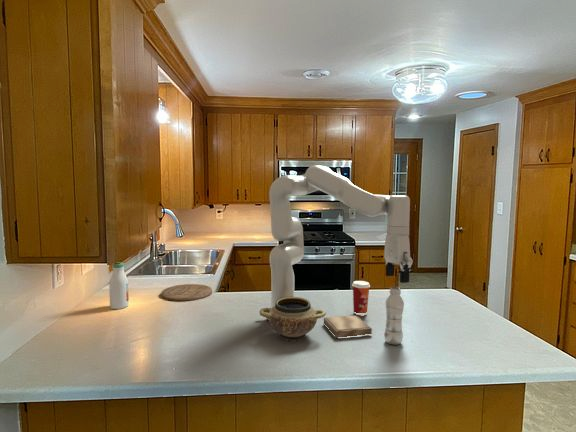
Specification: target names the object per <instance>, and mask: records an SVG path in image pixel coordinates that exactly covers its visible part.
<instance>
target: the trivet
mask: <svg viewBox="0 0 576 432" xmlns="http://www.w3.org/2000/svg"><path fill="white" fill-rule="evenodd" d="M212 294H213V289H212V287H210V286H208V285H206V284H198V283H195V284H194V283H186V284H185V283H183V284H178V285H173V286H169V287H166V288H164V289H162V290H161V293H160V296H161V299H164V300H166V301H171V302H192V301H198V300H202V299H206V298H208V297H210V296H211V295H212Z"/></svg>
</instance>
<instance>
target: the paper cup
mask: <svg viewBox="0 0 576 432" xmlns="http://www.w3.org/2000/svg"><path fill="white" fill-rule="evenodd" d="M351 286H352V302H353V305H352V306H353V313H354V312H356V313H366V312H367V313H368V306H369V305H368V304H369V296H370V295H369V294H370V288H371V285H370V283H369V282H368V281H365V280H355V281H353V283H352V285H351Z"/></svg>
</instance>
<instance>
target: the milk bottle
mask: <svg viewBox="0 0 576 432" xmlns="http://www.w3.org/2000/svg"><path fill="white" fill-rule="evenodd" d="M120 263H121V264H119V265H113V264H112V269H113V271H112V274H111V277H110V278H109V283H108V284H109V287H108V288H109V291H108V292H109V308H110V309H112V310H122V309H125V308H128V306H129V305H130V303H129V302H130V301H129V300H130V299H129V280H128V277H127V275H126V273H125V271H124V270H125V269H124V268H125V263H124V262H120Z"/></svg>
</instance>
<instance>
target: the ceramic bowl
mask: <svg viewBox="0 0 576 432" xmlns="http://www.w3.org/2000/svg"><path fill="white" fill-rule="evenodd" d="M311 305H312V304H311V302H310V300H309V299H307V298H304V297H299V296H294V297H285V298H281V299H278V300H277V301H276V303H275V306H274V307H272V308H270V307H263V308H261V309H260V310H259V316H260V315H261V317H263V318H265V319H269V321H268V322H269V324H270V326H271V327H272V329H273V330H274V331H275V332H276V333H278V334H280V336H279V337H280V338H281V337H282V338H283V340H285V339H287V340H286V341H288V340H298V341H300V340H299V339H301V338H303V337H304V336H305V337H306V335H307V334H308V333H310V332H311V331H312V330H313V329H314V328H315V326H316V324H317V321H318V319H321V318H325V316H326V315H327V312H326V311H325V310H323V309H316V308H313V306H311ZM265 312H268V313H265ZM305 337H304V338H305ZM282 338H281V339H282ZM304 338H303V339H304ZM301 340H302V339H301Z"/></svg>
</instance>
